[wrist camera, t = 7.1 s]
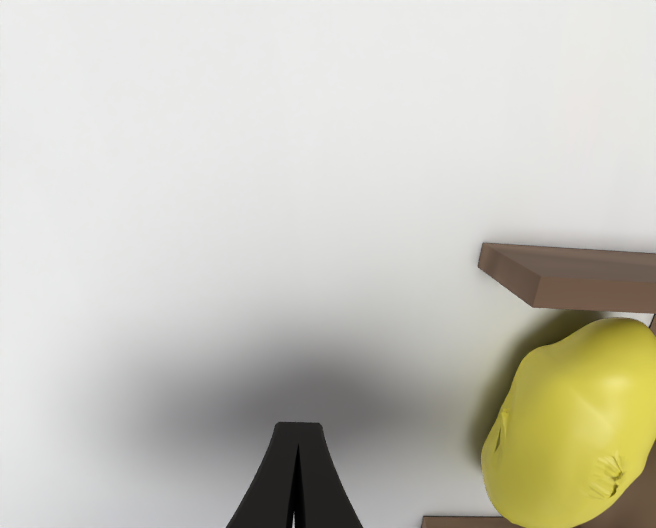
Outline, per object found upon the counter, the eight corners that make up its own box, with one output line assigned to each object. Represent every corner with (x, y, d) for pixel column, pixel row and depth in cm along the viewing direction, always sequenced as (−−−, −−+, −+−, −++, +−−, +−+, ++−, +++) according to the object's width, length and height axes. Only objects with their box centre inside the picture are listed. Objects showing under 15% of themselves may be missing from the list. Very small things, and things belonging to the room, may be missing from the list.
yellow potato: (434, 454, 14) (477, 564, 10) (547, 276, 12) (654, 336, 8) (523, 481, 15) (593, 593, 11) (646, 318, 13) (784, 390, 9)
